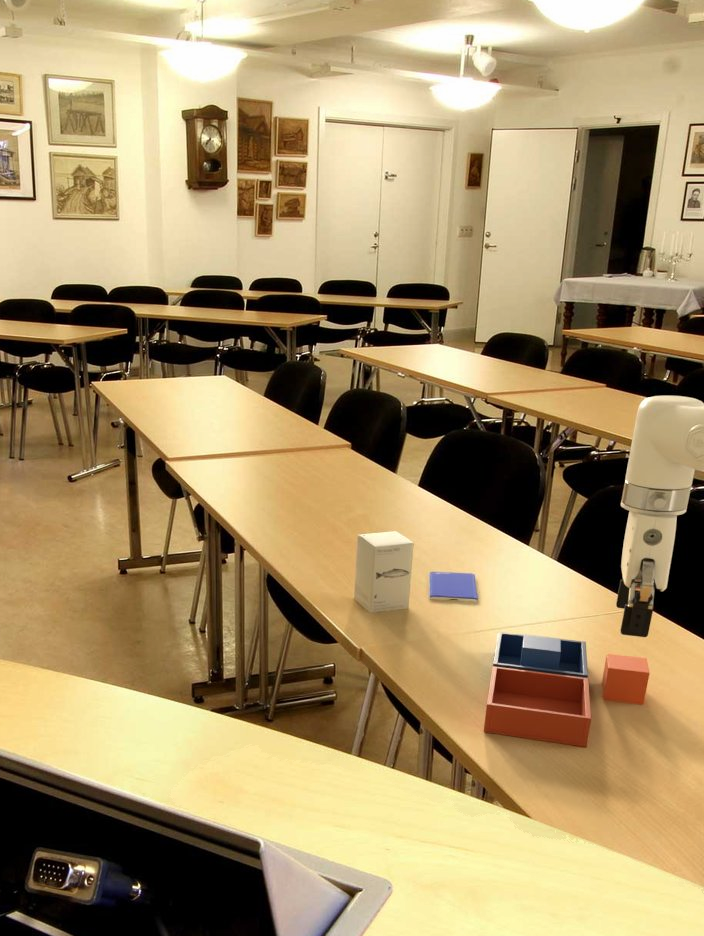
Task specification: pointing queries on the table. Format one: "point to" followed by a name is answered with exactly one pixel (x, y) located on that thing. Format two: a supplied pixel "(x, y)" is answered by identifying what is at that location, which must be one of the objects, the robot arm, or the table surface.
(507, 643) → the blue bin
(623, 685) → the rust block
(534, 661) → the blue block
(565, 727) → the rust bin
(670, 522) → the robot arm
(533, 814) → the table surface
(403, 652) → the table surface
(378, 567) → the white packaging box
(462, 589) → the hard drive
